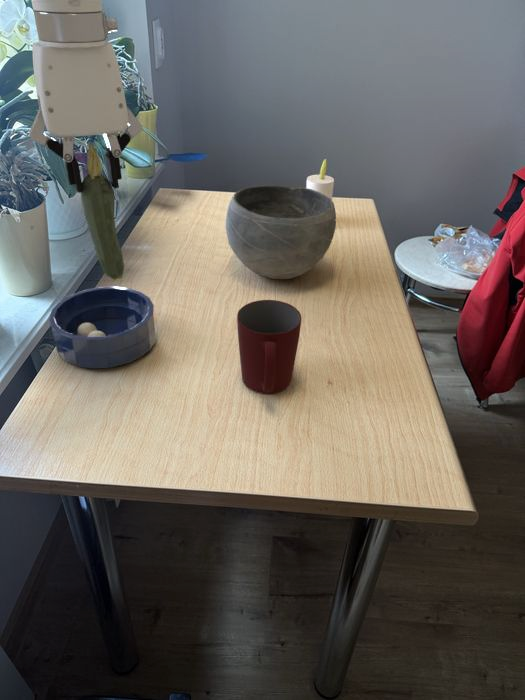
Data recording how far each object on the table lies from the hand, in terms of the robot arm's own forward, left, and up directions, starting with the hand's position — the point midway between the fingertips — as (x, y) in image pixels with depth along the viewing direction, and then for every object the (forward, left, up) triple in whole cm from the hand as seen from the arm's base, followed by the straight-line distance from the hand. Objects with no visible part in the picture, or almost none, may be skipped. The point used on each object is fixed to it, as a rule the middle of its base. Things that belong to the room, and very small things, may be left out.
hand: (96, 185), depth 72 cm
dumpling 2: (-4, -2, -23) cm, 24 cm away
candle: (+55, +31, -26) cm, 68 cm away
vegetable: (0, 0, -15) cm, 15 cm away
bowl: (+35, +12, -26) cm, 45 cm away
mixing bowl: (-2, 0, -25) cm, 26 cm away
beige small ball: (-5, +1, -23) cm, 24 cm away
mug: (+17, -20, -26) cm, 37 cm away
